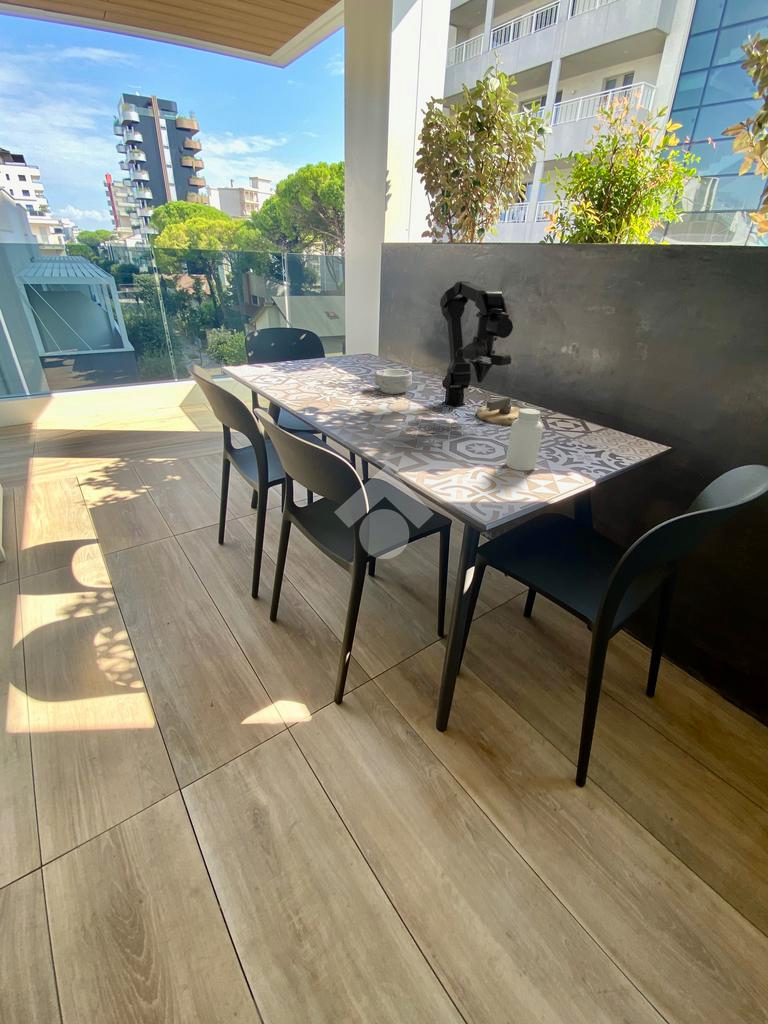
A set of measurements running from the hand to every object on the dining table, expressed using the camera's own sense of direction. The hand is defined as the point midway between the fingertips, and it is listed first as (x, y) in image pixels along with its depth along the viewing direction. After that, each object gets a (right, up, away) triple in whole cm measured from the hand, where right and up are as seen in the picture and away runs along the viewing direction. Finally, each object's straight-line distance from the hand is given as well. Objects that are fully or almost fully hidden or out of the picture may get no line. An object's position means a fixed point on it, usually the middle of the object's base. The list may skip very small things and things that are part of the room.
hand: (479, 382), depth 153 cm
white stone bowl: (-29, +6, +34) cm, 45 cm away
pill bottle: (+4, -32, -32) cm, 45 cm away
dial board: (+10, -10, +7) cm, 16 cm away
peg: (+6, -10, +3) cm, 12 cm away
